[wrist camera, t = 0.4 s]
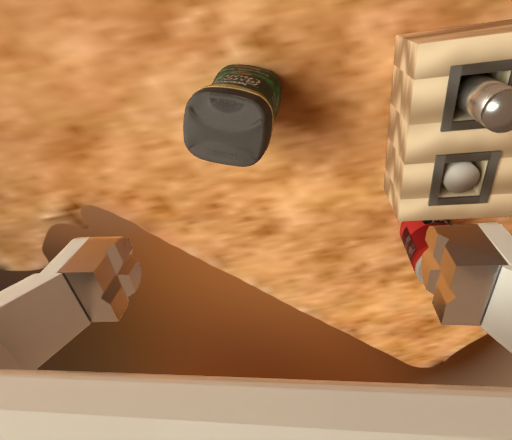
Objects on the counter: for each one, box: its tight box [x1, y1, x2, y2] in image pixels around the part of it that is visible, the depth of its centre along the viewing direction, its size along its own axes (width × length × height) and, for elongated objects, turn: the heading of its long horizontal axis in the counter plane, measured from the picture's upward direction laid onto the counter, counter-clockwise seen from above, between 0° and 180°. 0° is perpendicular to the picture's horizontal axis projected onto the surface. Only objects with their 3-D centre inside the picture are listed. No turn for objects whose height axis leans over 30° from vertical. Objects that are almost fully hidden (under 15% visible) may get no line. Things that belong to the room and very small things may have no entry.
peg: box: [455, 73, 512, 133], centre depth 36 cm, size 4×4×10 cm
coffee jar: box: [183, 65, 281, 167], centre depth 41 cm, size 10×8×19 cm
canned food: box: [400, 219, 453, 284], centre depth 53 cm, size 8×8×11 cm
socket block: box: [384, 20, 512, 221], centre depth 43 cm, size 22×14×10 cm, turn 8°
